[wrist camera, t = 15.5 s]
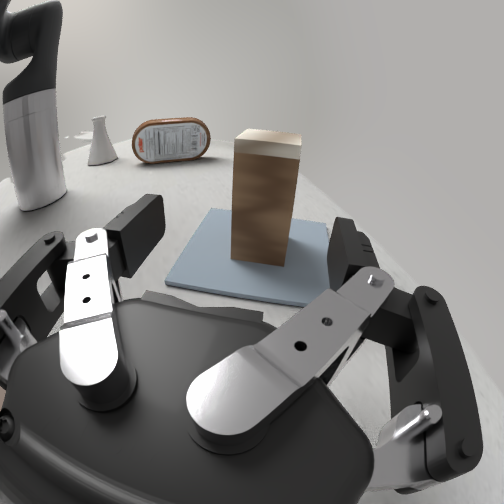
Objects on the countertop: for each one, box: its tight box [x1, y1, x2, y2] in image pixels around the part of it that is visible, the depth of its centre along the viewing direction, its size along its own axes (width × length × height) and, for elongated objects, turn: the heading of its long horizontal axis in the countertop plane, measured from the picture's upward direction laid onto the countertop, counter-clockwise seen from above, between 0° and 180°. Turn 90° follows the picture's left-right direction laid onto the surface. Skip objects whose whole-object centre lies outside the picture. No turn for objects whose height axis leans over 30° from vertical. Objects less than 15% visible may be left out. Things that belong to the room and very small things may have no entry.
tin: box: [132, 117, 211, 164], centre depth 46 cm, size 15×3×8 cm, turn 108°
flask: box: [88, 116, 118, 165], centre depth 47 cm, size 7×7×10 cm
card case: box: [230, 129, 302, 267], centre depth 22 cm, size 4×5×10 cm
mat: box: [165, 208, 330, 307], centre depth 25 cm, size 13×13×1 cm
